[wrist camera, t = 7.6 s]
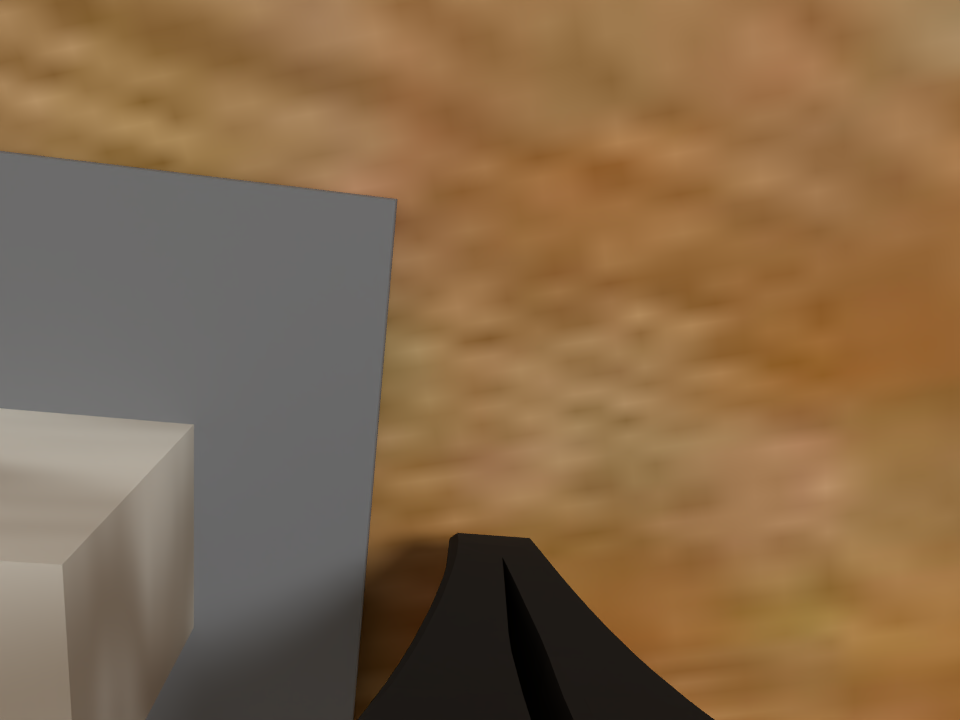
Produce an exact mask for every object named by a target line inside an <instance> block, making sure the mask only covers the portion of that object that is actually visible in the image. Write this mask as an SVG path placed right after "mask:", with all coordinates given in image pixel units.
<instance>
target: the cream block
mask: <svg viewBox="0 0 960 720" xmlns="http://www.w3.org/2000/svg"><path fill="white" fill-rule="evenodd" d="M193 628H194V424H182V423H170V422H158V421H146V420H134V419H122V418H110V417H98V416H86V415H74V414H62V413H50V412H38V411H26V410H14V409H2V408H0V720H146V718H147V716H148V714H149V712H150V710H151V708H152V706H153V704H154V702H155V700H156V699H157V697H158V695H159V693H160V691H161V689H162V687H163V685H164V683H165V681H166V679H167V678H168V676H169V674H170V672H171V670H172V668H173V666H174V664H175V662H176V660H177V658H178V657H179V655H180V653H181V651H182V649H183V647H184V645H185V643H186V641H187V639H188V637H189V635H190V634H191V632H192V630H193Z"/></svg>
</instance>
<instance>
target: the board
mask: <svg viewBox="0 0 960 720" xmlns="http://www.w3.org/2000/svg"><path fill="white" fill-rule="evenodd" d="M396 208H397V199H392V198H383V197H375V196H367V195H359V194H350V193H342V192H334V191H326V190H317V189H309V188H301V187H293V186H284V185H276V184H268V183H260V182H251V181H243V180H235V179H227V178H218V177H210V176H202V175H194V174H185V173H177V172H169V171H161V170H152V169H144V168H136V167H128V166H119V165H111V164H103V163H95V162H86V161H78V160H70V159H62V158H53V157H45V156H37V155H29V154H20V153H12V152H4V151H0V408H2V409H14V410H26V411H38V412H50V413H62V414H74V415H86V416H98V417H110V418H122V419H134V420H146V421H158V422H170V423H182V424H194V628H193V630H192V632H191V634H190V635H189V637H188V639H187V641H186V643H185V645H184V647H183V649H182V651H181V653H180V655H179V657H178V658H177V660H176V662H175V664H174V666H173V668H172V670H171V672H170V674H169V676H168V678H167V679H166V681H165V683H164V685H163V687H162V689H161V691H160V693H159V695H158V697H157V699H156V700H155V702H154V704H153V706H152V708H151V710H150V712H149V714H148V716H147V718H146V720H353V719H354V707H355V695H356V683H357V671H358V659H359V648H360V636H361V624H362V612H363V600H364V588H365V576H366V564H367V553H368V541H369V529H370V517H371V505H372V493H373V481H374V469H375V458H376V446H377V434H378V422H379V410H380V398H381V386H382V375H383V363H384V351H385V339H386V327H387V315H388V303H389V291H390V280H391V268H392V256H393V244H394V232H395V220H396Z"/></svg>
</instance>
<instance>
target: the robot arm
mask: <svg viewBox="0 0 960 720" xmlns="http://www.w3.org/2000/svg"><path fill="white" fill-rule="evenodd" d="M358 720H714V719H713V718H711V717H710V716H709V715H707V714H706V713H705V712H703V711H702V710H701V709H699V708H698V707H697V706H695V705H694V704H693V703H692V702H690V701H689V700H688V699H686V698H685V697H684V696H683V695H682V694H680V693H679V692H678V691H677V690H676V689H674V688H673V687H672V686H671V685H669V684H668V683H667V682H666V681H665V680H663V679H662V678H661V677H660V676H659V675H657V674H656V673H655V672H654V671H653V670H651V669H650V668H649V667H648V666H647V665H646V664H645V663H644V662H643V661H641V660H640V659H639V658H638V657H637V656H636V655H635V654H634V653H633V652H632V651H631V650H630V649H629V648H628V647H627V646H626V645H625V644H624V643H623V642H622V641H620V640H619V639H618V638H617V637H616V636H615V635H614V634H613V633H612V632H611V631H610V630H609V629H608V628H607V627H606V626H605V625H604V624H603V623H602V621H601V620H600V619H599V618H598V617H597V616H596V615H595V614H594V613H593V612H592V611H591V610H590V609H589V608H588V607H587V605H586V604H585V603H584V602H583V601H582V600H581V599H580V598H579V597H578V595H577V594H576V593H575V592H574V591H573V590H572V589H571V587H570V586H569V585H568V584H567V583H566V582H565V580H564V579H563V578H562V577H561V576H560V574H559V573H558V572H557V571H556V570H555V568H554V567H553V566H552V565H551V564H550V562H549V561H548V560H547V559H546V557H545V556H544V555H543V554H542V553H541V551H540V550H539V549H538V548H537V546H536V545H535V544H534V543H533V542H532V540H531V539H530V538H520V537H506V536H492V535H478V534H464V533H457V534H455V535H454V536H453V537H451V538H450V540H449V548H448V557H447V565H446V570H445V573H444V576H443V579H442V581H441V584H440V586H439V589H438V591H437V593H436V596H435V598H434V601H433V603H432V605H431V607H430V609H429V611H428V613H427V615H426V617H425V619H424V621H423V623H422V625H421V627H420V628H419V630H418V632H417V634H416V636H415V638H414V640H413V642H412V643H411V645H410V647H409V648H408V650H407V652H406V653H405V655H404V656H403V658H402V660H401V661H400V663H399V664H398V666H397V667H396V669H395V670H394V672H393V673H392V675H391V676H390V678H389V679H388V681H387V682H386V683H385V685H384V686H383V687H382V689H381V690H380V691H379V693H378V694H377V695H376V697H375V698H374V699H373V701H372V702H371V703H370V704H369V706H368V707H367V708H366V710H365V711H364V712H363V714H362V715H361V716H360V717H359V719H358Z"/></svg>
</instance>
